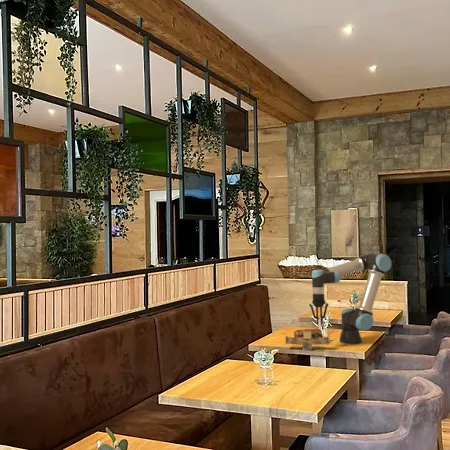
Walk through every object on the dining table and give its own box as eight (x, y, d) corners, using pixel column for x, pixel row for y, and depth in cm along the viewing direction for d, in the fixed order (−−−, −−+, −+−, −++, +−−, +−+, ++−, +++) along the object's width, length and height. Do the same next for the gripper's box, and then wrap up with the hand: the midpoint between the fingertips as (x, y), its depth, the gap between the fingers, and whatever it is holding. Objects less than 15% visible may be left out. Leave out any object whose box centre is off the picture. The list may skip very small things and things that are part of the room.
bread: (320, 341, 390) (320, 327, 390) (323, 344, 379) (322, 330, 379) (293, 342, 390) (293, 327, 390) (295, 345, 379) (295, 330, 379)
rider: (311, 339, 368) (311, 331, 368) (311, 341, 362) (311, 333, 362) (303, 339, 369) (303, 331, 369) (303, 341, 363) (303, 333, 363)
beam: (328, 348, 367) (328, 336, 367) (328, 350, 360) (328, 339, 360) (286, 347, 372) (286, 336, 372) (285, 350, 364) (285, 338, 364)
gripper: (328, 292, 367) (329, 327, 367) (308, 292, 369) (309, 327, 369) (328, 293, 360) (330, 329, 360) (308, 294, 362) (309, 330, 362)
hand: (319, 328), depth 365 cm, fingers closed
